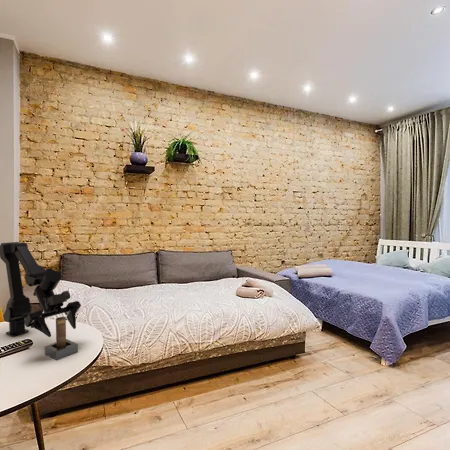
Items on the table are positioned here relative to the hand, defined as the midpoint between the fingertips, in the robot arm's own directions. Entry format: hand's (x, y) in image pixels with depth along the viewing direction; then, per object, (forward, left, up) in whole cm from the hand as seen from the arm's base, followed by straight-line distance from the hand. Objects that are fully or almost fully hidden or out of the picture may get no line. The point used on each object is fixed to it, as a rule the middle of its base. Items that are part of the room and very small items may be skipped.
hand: (63, 332), depth 115 cm
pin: (-1, 0, -8) cm, 8 cm away
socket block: (-1, 0, -8) cm, 8 cm away
